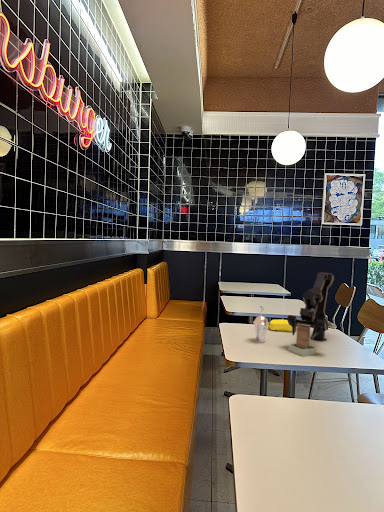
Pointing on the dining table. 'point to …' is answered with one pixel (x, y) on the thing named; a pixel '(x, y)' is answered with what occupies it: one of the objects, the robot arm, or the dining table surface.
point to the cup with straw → (260, 327)
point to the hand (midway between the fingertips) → (302, 336)
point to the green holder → (302, 352)
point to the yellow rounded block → (280, 325)
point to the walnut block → (303, 337)
